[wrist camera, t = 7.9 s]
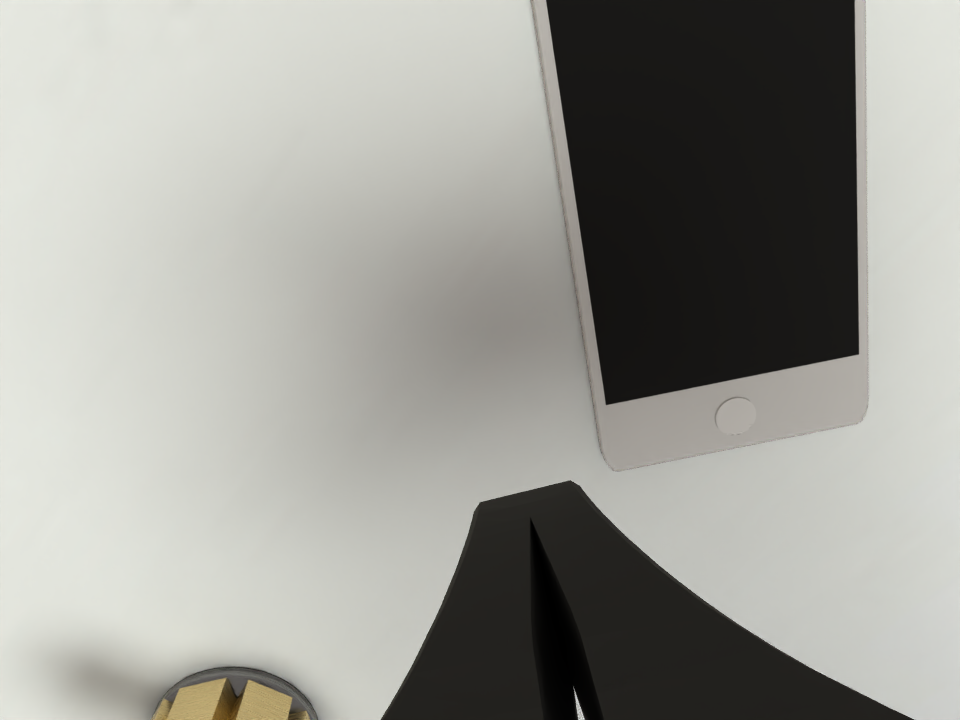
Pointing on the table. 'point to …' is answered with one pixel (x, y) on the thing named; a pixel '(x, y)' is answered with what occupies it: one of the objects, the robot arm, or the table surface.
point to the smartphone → (713, 215)
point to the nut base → (238, 681)
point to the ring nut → (228, 703)
